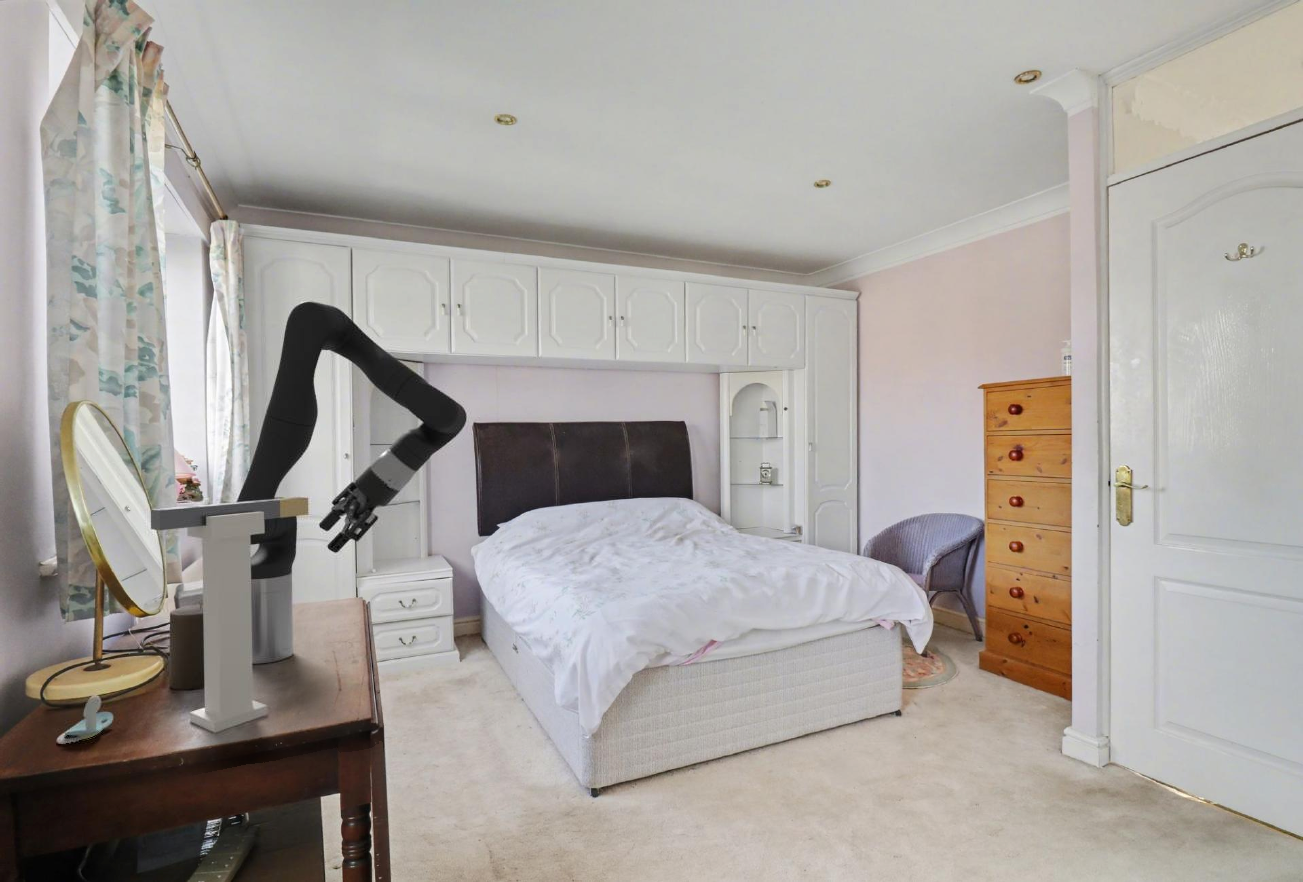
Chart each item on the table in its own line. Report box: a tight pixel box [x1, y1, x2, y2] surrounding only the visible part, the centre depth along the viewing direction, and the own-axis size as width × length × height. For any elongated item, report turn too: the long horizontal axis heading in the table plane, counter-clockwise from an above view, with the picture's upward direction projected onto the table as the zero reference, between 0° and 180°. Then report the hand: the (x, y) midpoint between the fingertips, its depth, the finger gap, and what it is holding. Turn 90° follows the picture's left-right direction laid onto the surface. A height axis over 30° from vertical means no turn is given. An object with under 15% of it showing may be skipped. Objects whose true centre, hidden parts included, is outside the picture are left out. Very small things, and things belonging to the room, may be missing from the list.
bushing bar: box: [150, 496, 309, 531], centre depth 112 cm, size 3×23×3 cm, turn 147°
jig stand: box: [186, 511, 268, 733], centre depth 111 cm, size 8×8×34 cm
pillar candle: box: [168, 601, 205, 691], centre depth 128 cm, size 10×10×15 cm
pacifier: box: [56, 694, 114, 745], centre depth 105 cm, size 7×6×6 cm
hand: (326, 539), depth 131 cm, fingers open, 8 cm apart
